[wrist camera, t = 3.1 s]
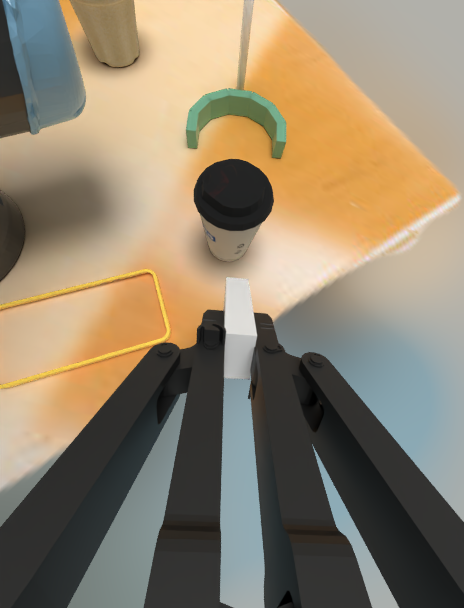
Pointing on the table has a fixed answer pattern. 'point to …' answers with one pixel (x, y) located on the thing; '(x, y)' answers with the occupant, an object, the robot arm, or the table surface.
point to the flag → (244, 42)
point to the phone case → (102, 355)
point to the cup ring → (241, 106)
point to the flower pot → (109, 29)
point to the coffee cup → (232, 206)
